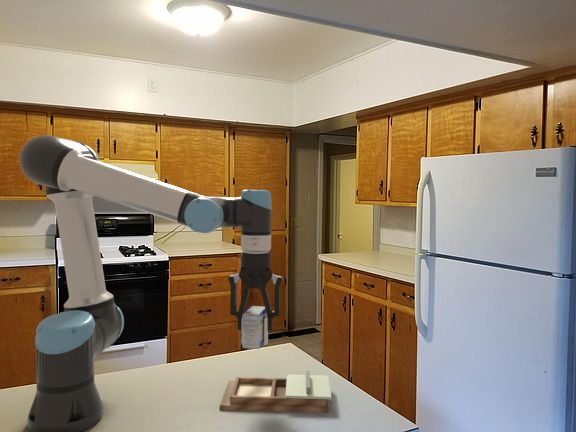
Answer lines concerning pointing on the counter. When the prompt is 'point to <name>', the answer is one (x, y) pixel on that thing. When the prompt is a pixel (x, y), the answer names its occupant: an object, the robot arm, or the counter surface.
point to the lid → (308, 386)
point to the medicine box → (253, 327)
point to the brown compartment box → (266, 396)
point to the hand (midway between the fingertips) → (254, 342)
